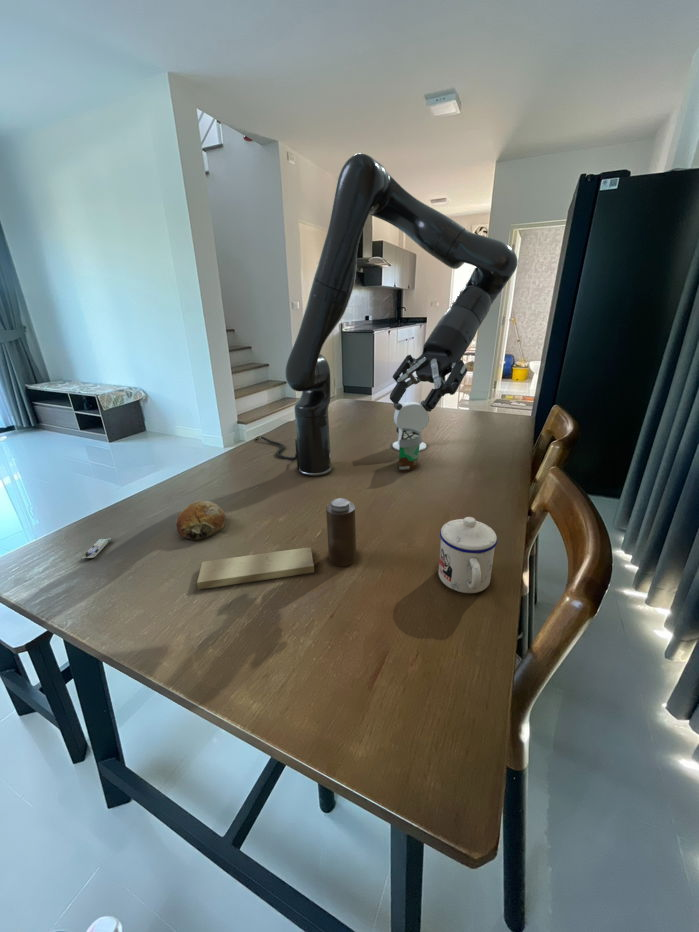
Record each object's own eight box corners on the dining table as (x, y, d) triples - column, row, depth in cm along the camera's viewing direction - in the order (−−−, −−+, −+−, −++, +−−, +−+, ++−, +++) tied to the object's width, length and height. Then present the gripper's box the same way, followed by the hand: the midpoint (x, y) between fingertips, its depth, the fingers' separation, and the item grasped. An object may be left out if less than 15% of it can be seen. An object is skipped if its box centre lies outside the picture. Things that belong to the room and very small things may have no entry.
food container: (420, 474, 107) (422, 441, 103) (398, 473, 108) (399, 440, 105) (421, 459, 118) (423, 428, 115) (401, 458, 120) (402, 427, 116)
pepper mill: (323, 559, 72) (319, 503, 68) (341, 547, 76) (339, 493, 71) (343, 570, 69) (341, 512, 65) (361, 557, 73) (360, 501, 68)
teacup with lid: (433, 560, 71) (437, 505, 66) (483, 561, 70) (490, 506, 66) (444, 607, 60) (449, 545, 55) (503, 609, 59) (513, 546, 55)
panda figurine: (421, 439, 136) (423, 397, 130) (433, 449, 126) (435, 405, 120) (388, 442, 134) (389, 399, 128) (398, 453, 124) (399, 407, 118)
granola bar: (101, 541, 80) (99, 536, 80) (112, 540, 80) (110, 536, 80) (81, 560, 74) (80, 556, 74) (94, 559, 74) (92, 555, 74)
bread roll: (232, 538, 87) (237, 503, 87) (202, 544, 77) (207, 504, 77) (197, 531, 90) (201, 497, 90) (163, 536, 80) (168, 498, 80)
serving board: (198, 589, 65) (196, 582, 65) (203, 568, 71) (202, 561, 70) (314, 572, 69) (313, 565, 68) (311, 553, 74) (310, 546, 74)
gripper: (415, 323, 77) (373, 388, 75) (476, 323, 67) (429, 399, 64) (431, 348, 82) (392, 409, 80) (490, 352, 72) (447, 423, 69)
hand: (408, 405), depth 72 cm, fingers open, 8 cm apart
